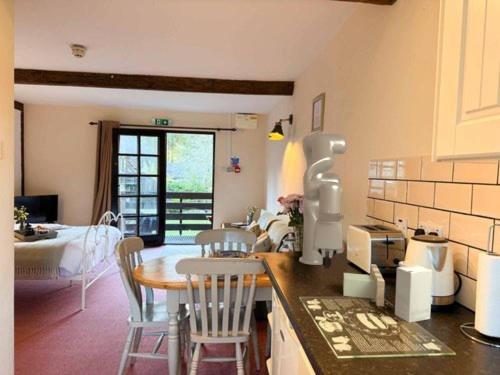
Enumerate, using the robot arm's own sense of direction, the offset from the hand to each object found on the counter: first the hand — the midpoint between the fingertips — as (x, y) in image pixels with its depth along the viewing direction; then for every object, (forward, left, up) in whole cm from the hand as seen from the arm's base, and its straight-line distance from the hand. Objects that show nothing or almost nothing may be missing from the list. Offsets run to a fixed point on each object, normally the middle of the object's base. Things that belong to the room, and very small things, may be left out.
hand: (326, 267), depth 127 cm
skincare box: (+19, +25, -8) cm, 33 cm away
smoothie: (-9, +29, -8) cm, 32 cm away
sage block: (+1, +11, -8) cm, 14 cm away
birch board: (+1, +17, -8) cm, 19 cm away
